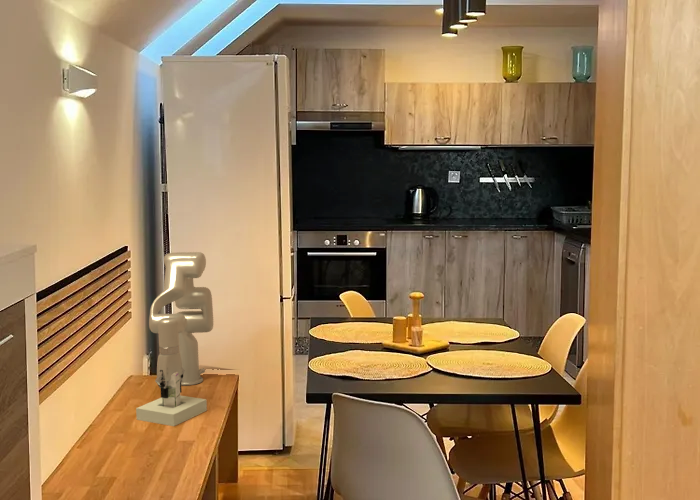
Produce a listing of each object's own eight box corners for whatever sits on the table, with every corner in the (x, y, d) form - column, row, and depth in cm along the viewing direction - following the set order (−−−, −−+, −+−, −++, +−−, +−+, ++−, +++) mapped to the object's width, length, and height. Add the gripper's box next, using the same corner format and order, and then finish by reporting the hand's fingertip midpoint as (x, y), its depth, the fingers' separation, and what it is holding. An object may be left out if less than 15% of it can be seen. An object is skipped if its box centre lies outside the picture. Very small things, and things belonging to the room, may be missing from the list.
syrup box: (181, 405, 317) (179, 369, 316) (176, 410, 312) (175, 373, 310) (167, 405, 318) (165, 369, 316) (162, 410, 312) (160, 373, 310)
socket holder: (170, 404, 328) (170, 393, 327) (206, 410, 320) (206, 399, 319) (136, 419, 310) (136, 408, 310) (173, 426, 302) (173, 414, 302)
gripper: (176, 344, 321) (178, 387, 324) (146, 354, 306) (148, 400, 308) (191, 346, 318) (193, 390, 320) (162, 356, 303) (164, 402, 305)
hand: (171, 394), depth 314 cm, fingers closed on syrup box, 7 cm apart
